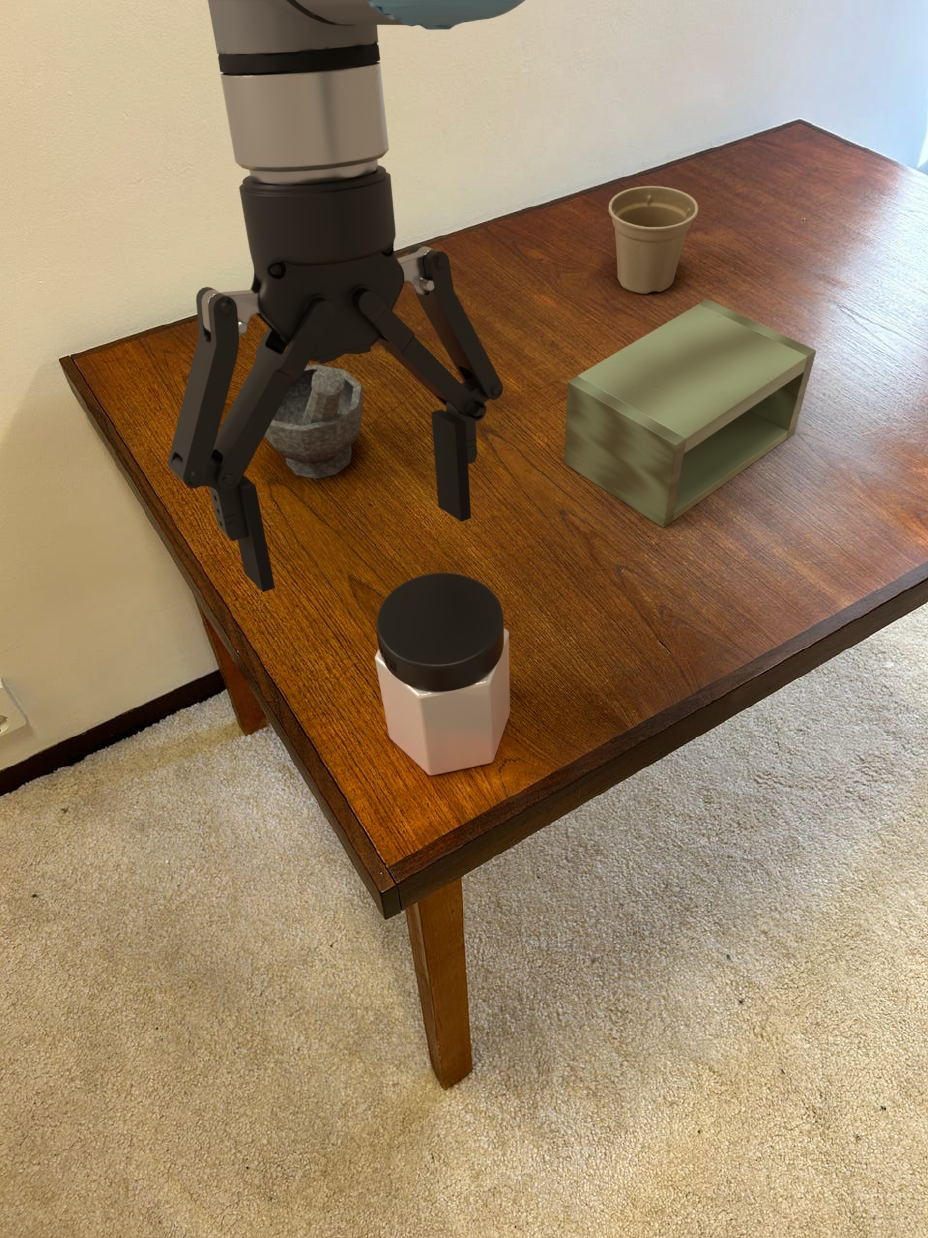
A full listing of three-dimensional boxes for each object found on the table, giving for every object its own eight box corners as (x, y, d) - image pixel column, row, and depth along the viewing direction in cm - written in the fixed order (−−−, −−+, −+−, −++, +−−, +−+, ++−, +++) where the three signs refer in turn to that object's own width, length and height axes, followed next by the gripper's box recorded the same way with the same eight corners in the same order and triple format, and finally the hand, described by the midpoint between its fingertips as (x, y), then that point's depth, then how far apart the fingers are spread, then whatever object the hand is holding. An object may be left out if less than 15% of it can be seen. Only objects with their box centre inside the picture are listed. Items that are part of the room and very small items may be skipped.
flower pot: (685, 306, 105) (696, 229, 99) (599, 300, 107) (604, 224, 100) (689, 262, 111) (700, 187, 105) (607, 257, 113) (613, 183, 106)
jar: (417, 667, 74) (402, 556, 65) (520, 690, 72) (520, 579, 63) (375, 763, 68) (352, 656, 59) (485, 791, 66) (479, 685, 57)
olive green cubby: (794, 433, 90) (816, 350, 83) (663, 528, 83) (676, 445, 76) (693, 380, 96) (707, 298, 90) (563, 463, 89) (567, 381, 82)
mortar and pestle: (251, 450, 92) (222, 340, 83) (336, 412, 95) (317, 303, 86) (308, 513, 86) (283, 402, 77) (397, 471, 89) (383, 359, 80)
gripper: (479, 132, 56) (493, 469, 67) (36, 196, 45) (144, 586, 56) (560, 142, 50) (560, 507, 62) (79, 218, 39) (188, 643, 51)
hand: (362, 545), depth 59 cm, fingers open, 13 cm apart
